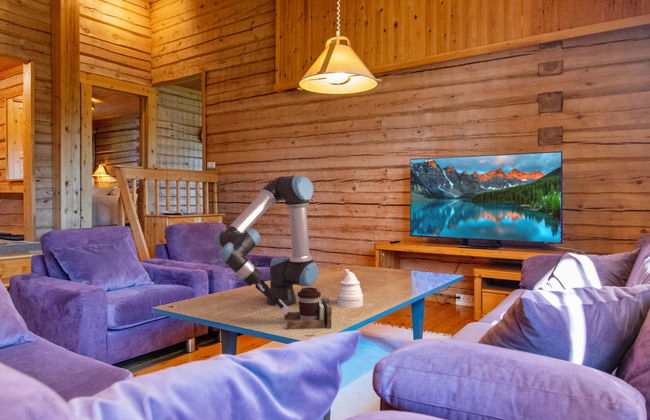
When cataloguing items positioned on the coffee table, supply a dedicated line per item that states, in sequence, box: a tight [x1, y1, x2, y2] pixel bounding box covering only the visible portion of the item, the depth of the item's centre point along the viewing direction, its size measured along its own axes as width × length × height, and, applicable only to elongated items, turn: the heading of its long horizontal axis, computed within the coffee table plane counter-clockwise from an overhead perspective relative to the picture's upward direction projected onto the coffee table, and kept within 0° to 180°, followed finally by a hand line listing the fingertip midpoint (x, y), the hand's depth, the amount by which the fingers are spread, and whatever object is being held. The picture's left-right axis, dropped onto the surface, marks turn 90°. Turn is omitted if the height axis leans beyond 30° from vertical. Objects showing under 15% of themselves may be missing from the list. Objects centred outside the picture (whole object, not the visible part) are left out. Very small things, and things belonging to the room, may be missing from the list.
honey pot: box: [337, 268, 364, 309], centre depth 234 cm, size 13×13×18 cm
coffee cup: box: [297, 287, 322, 321], centre depth 199 cm, size 10×10×15 cm
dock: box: [284, 297, 333, 330], centre depth 199 cm, size 19×17×10 cm
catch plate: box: [318, 299, 324, 320], centre depth 200 cm, size 2×12×8 cm, turn 9°
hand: (287, 312), depth 197 cm, fingers closed
